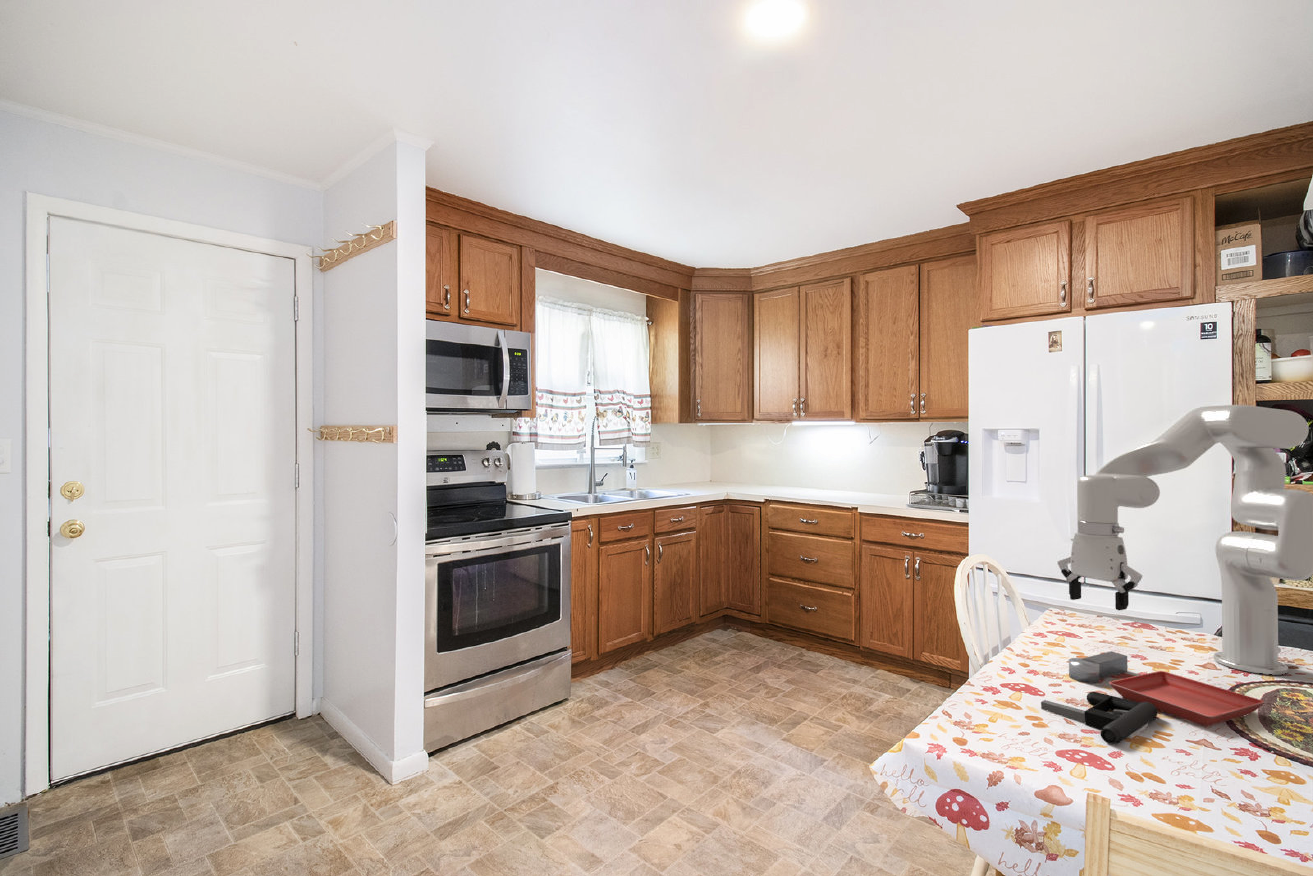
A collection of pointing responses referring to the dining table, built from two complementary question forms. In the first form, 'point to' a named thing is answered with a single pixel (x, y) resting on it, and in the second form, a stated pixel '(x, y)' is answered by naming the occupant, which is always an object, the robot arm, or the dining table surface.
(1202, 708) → the plant saucer
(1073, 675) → the ball joint lever
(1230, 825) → the dining table surface
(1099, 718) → the door handle
